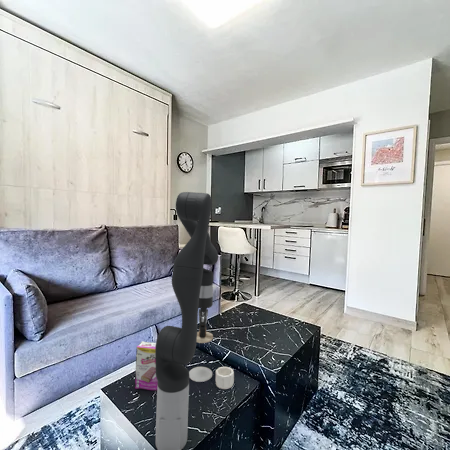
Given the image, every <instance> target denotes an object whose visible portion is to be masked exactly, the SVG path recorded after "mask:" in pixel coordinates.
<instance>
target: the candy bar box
mask: <svg viewBox="0 0 450 450" xmlns="http://www.w3.org/2000/svg"><path fill="white" fill-rule="evenodd" d="M155 348H156V342H151V341H141V342H140V343H139V344H138V345H136V349H135V351H136V355H135V374H134V375H135V376H134V389H137V390H145V391H154V392H155V391H156V392H157V385H158V380H157V378H156V361H155Z"/></svg>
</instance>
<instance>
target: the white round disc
mask: <svg viewBox="0 0 450 450" xmlns="http://www.w3.org/2000/svg"><path fill="white" fill-rule="evenodd" d="M212 377H213V371H212V370H211V369H210V368H209V367H206V366H196V367H193V368H192V369H189V380H192V381H193V382H197V383H201V382H202V383H203V382H207V381H209V380H210V379H211V378H212Z"/></svg>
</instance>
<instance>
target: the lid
mask: <svg viewBox="0 0 450 450" xmlns="http://www.w3.org/2000/svg"><path fill="white" fill-rule="evenodd" d="M201 326H204V325H201ZM199 327H200V325H199ZM199 327H198V329H199V331H197V342H196V343H199V344H205V343H210V342H212V341H213V339H214V335H213V333H211V332H209V331H207V328H206V329H205V337H204V338H201V337H200V328H199Z"/></svg>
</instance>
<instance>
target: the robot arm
mask: <svg viewBox="0 0 450 450" xmlns="http://www.w3.org/2000/svg"><path fill="white" fill-rule="evenodd" d="M212 205H213V199H212V196H211V195H210V193H206V192H196V191H195V192H193V191H183V192H180V193H178V195H177V197H176V200H175V213H176V215H177V217H178V219H179V220H180V222H181V225H182V226H183V228H184V229H185V231H186V232H187V234H188V235H189V237H190V238H189V239H188V242H186V243H185V245H184V246H183V247H182V248H181V250H180V251H179V252H178V253H177V255H176V257H175V259H174V262H173V267H172V275H171V284H172V285H171V286H172V289H173V292H174V295H175V297H176V300H177V302H178V305H179V309H180V312H181V327H179V326H174V325H166V326H164V327H162V328H161V330H160V331H159V333H158V335H157V338H156V341H155V343H156V348H155V361H156V378H157V380H158V385H157V391H156V413H155V415H156V416H155V417H156V418H155V447H156V449H157V450H182V449H184V448H185V446H186V445H187V442H188V428H189V427H188V425H189V424H188V423H189V422H188V421H189V418H188V417H189V396H190V394H189V393H190V378H189V372H190V370H188V368H187V367H186V366H187V365H188V364H190V363H191V362H192V361H193V358H194V356H195V352H196V347H197V343H198V342H197V332H198V329H199V328H200V337H201V338H204V337H205V329H206V330H207V323H208V317H209V309H210V308H212V307H213V304H214V303H213V301H214V285H213V284H214V283H213V282H214V273H213V271H212V270H210V269H207V268H205V267H204V265H206V266H208V265H210V266H211V265H212V266H213V265H215V264H217V262H218V260H219V252H218V250H217V248H216V247H215V246H214V244H213V243H212V240H211V236H210V234H209V232H208V231H209V227H210V220H211V216H212V207H213V206H212ZM198 324H199V326H200V327H198ZM201 325H204V326H201ZM185 365H186V366H185Z"/></svg>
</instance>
